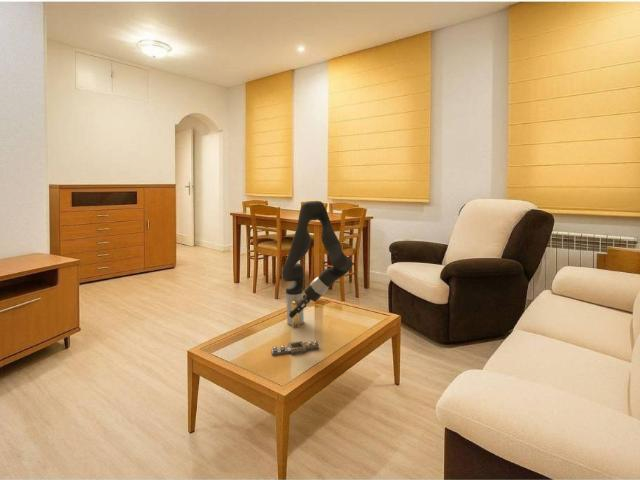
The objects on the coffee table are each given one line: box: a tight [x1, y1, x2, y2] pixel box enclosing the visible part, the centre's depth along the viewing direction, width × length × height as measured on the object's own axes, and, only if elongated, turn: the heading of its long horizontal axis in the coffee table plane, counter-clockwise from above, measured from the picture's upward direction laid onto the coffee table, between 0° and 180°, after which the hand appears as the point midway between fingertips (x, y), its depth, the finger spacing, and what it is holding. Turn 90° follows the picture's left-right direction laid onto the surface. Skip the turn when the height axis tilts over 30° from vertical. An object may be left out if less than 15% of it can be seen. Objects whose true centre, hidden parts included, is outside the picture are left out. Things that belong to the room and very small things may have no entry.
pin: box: [291, 301, 300, 329], centre depth 175 cm, size 3×3×12 cm
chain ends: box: [270, 340, 320, 357], centre depth 177 cm, size 8×22×3 cm, turn 107°
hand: (291, 315), depth 176 cm, fingers closed on pin, 3 cm apart
